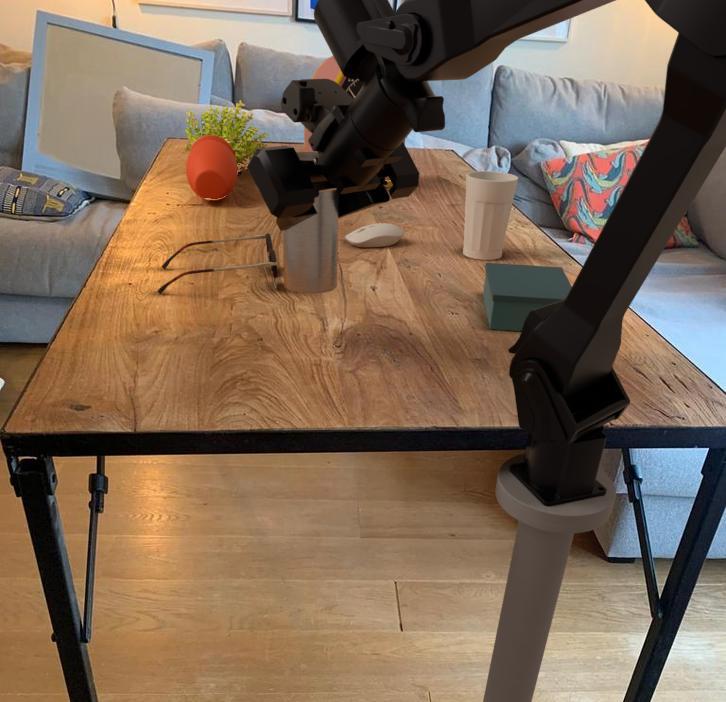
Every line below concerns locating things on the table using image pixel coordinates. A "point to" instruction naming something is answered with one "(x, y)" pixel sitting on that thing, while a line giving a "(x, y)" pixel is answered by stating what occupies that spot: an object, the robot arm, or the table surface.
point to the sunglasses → (271, 258)
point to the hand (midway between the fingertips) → (302, 222)
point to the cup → (487, 213)
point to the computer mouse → (375, 235)
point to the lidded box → (520, 292)
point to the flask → (313, 244)
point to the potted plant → (218, 151)
